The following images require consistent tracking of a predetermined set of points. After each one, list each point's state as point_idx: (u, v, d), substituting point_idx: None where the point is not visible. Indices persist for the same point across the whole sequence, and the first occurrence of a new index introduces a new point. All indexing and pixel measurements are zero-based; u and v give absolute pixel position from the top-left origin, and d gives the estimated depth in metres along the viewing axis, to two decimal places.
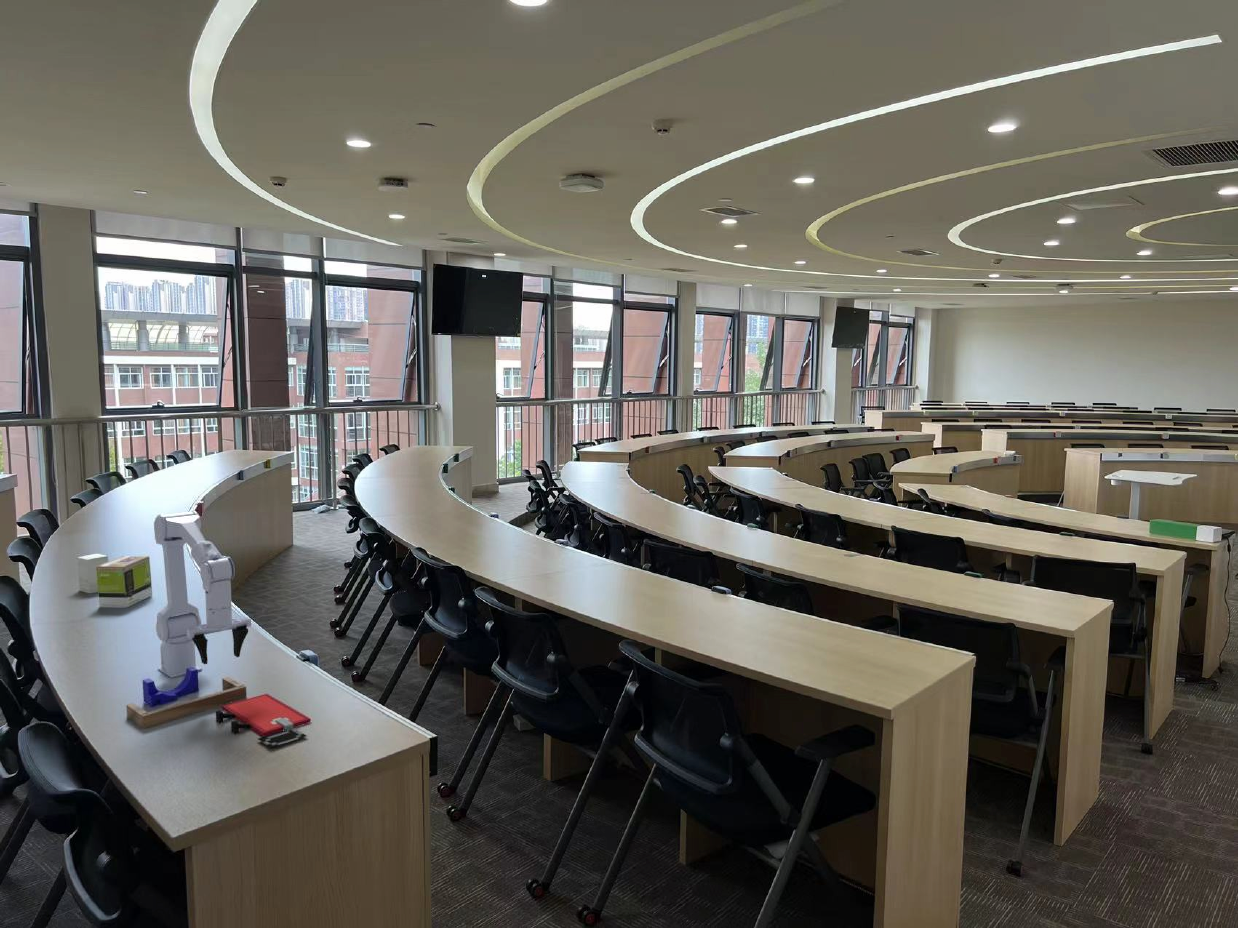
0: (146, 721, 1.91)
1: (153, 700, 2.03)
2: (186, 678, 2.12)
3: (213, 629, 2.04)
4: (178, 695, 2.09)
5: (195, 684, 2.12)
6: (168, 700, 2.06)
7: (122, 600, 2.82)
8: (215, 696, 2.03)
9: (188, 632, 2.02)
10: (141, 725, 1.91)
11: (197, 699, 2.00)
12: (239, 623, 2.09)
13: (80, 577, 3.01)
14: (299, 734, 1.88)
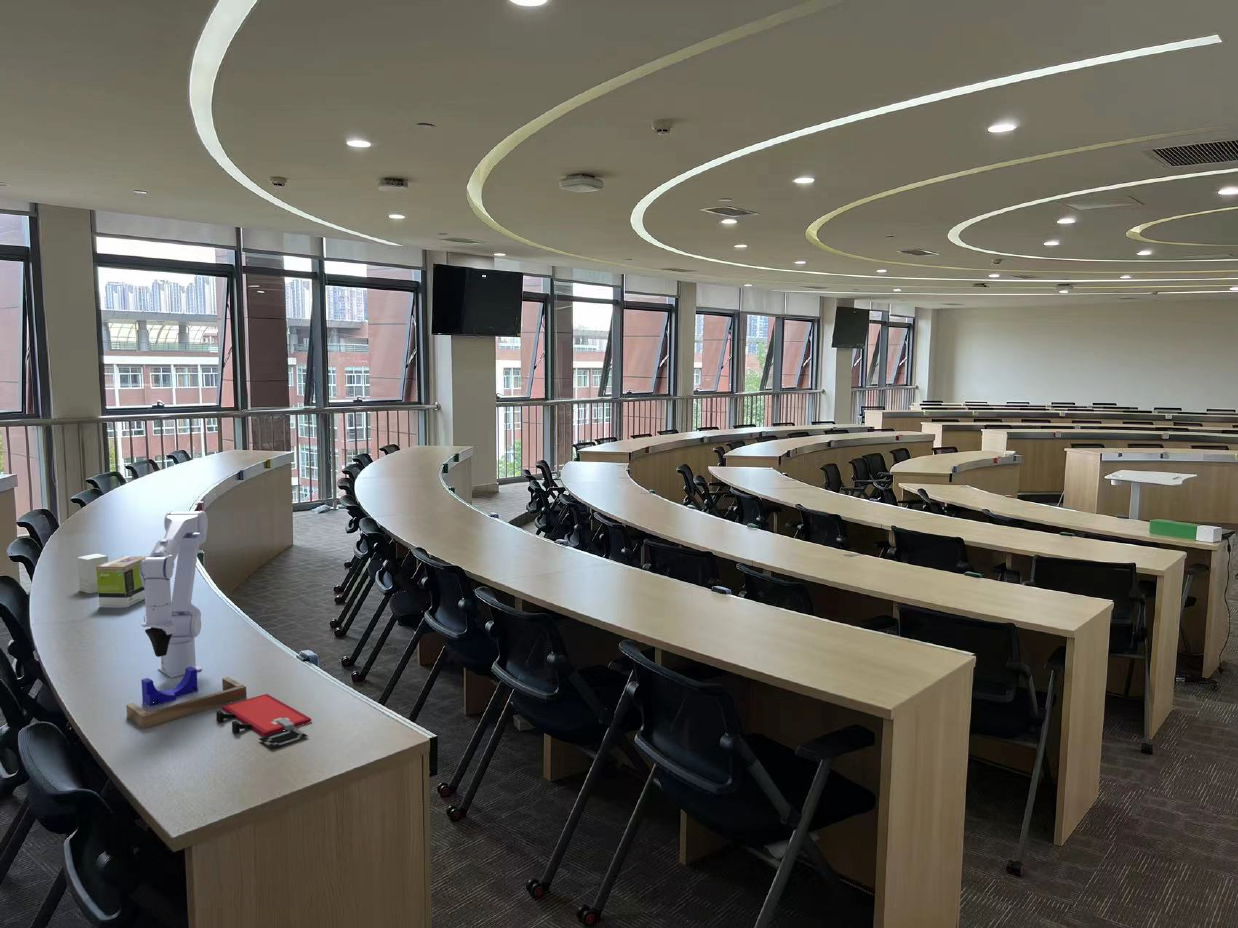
0: (146, 721, 1.91)
1: (152, 700, 2.03)
2: (185, 678, 2.12)
3: (145, 622, 2.10)
4: (177, 695, 2.09)
5: (194, 684, 2.12)
6: (167, 700, 2.06)
7: (122, 600, 2.82)
8: (215, 696, 2.03)
9: None
10: (141, 725, 1.91)
11: (197, 699, 2.00)
12: (158, 626, 2.07)
13: (80, 577, 3.01)
14: (300, 734, 1.88)
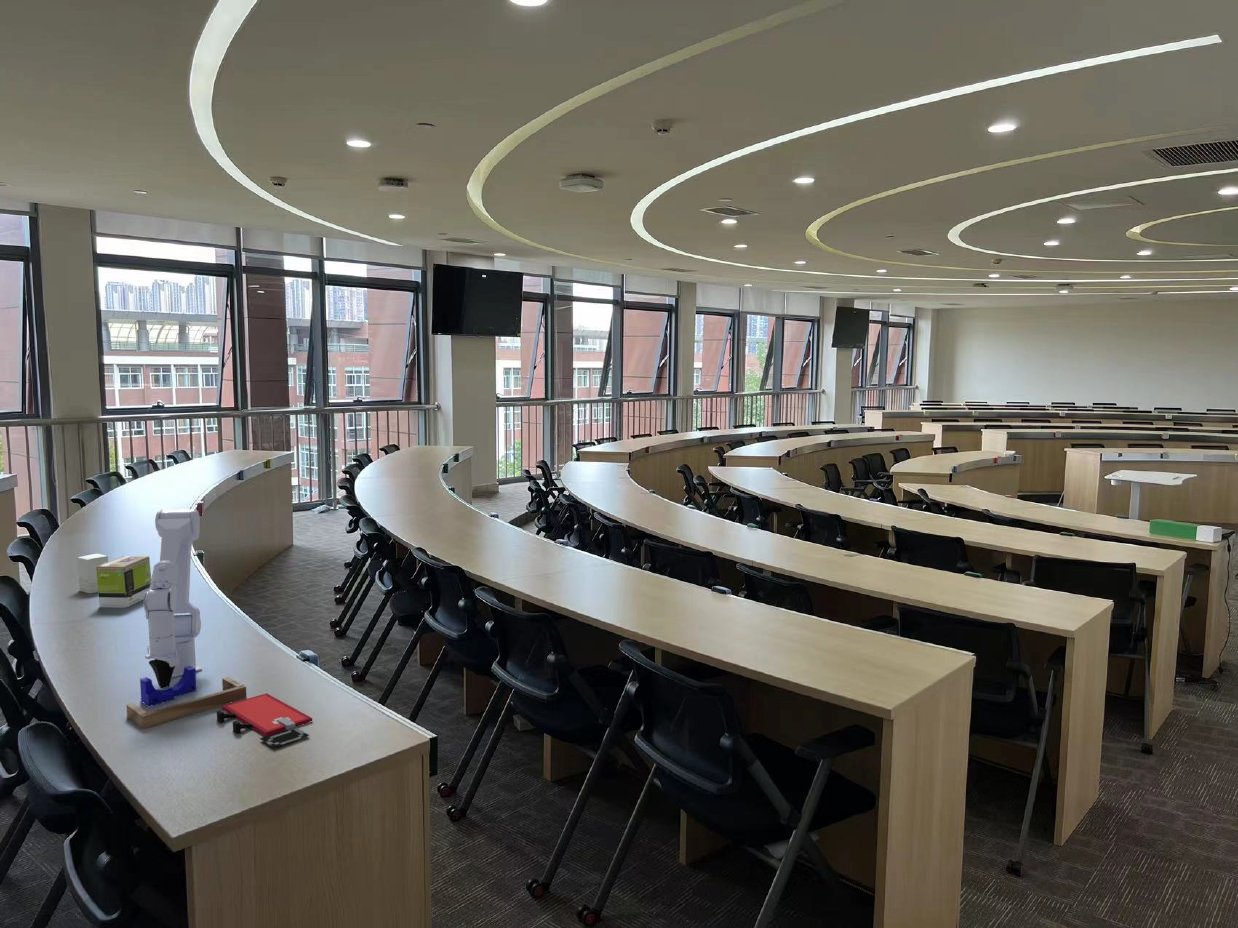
0: (146, 721, 1.91)
1: (150, 699, 2.03)
2: (184, 677, 2.12)
3: (149, 653, 2.10)
4: (175, 694, 2.09)
5: (193, 683, 2.12)
6: (165, 699, 2.06)
7: (122, 600, 2.82)
8: (215, 696, 2.03)
9: None
10: (141, 725, 1.91)
11: (197, 699, 2.00)
12: (162, 658, 2.07)
13: (80, 577, 3.01)
14: (301, 733, 1.88)
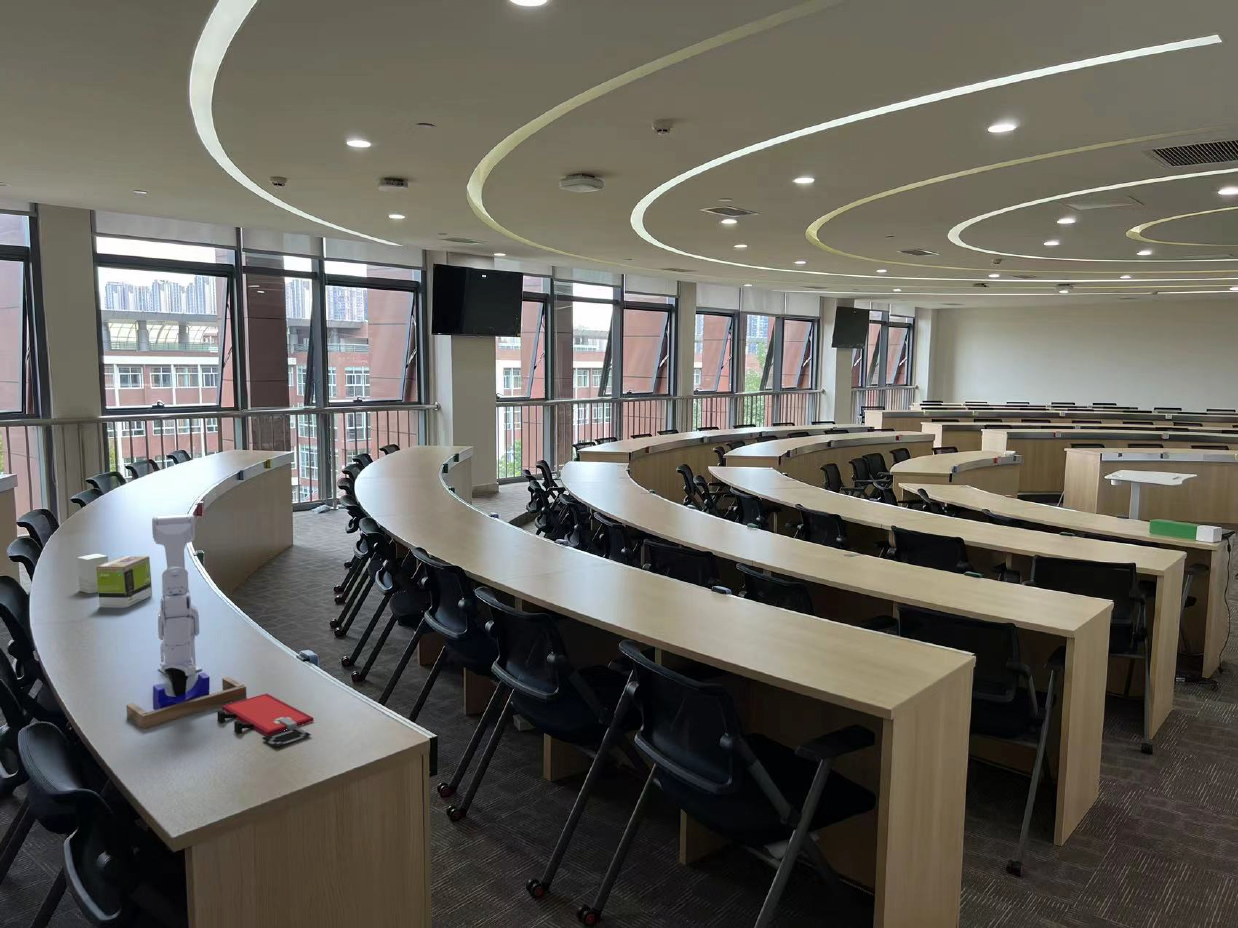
0: (146, 721, 1.91)
1: None
2: (197, 685, 2.07)
3: (164, 661, 2.04)
4: None
5: (206, 691, 2.07)
6: None
7: (122, 600, 2.82)
8: (215, 696, 2.03)
9: None
10: (141, 725, 1.91)
11: (197, 699, 2.00)
12: (178, 667, 2.01)
13: (80, 577, 3.01)
14: (303, 733, 1.88)
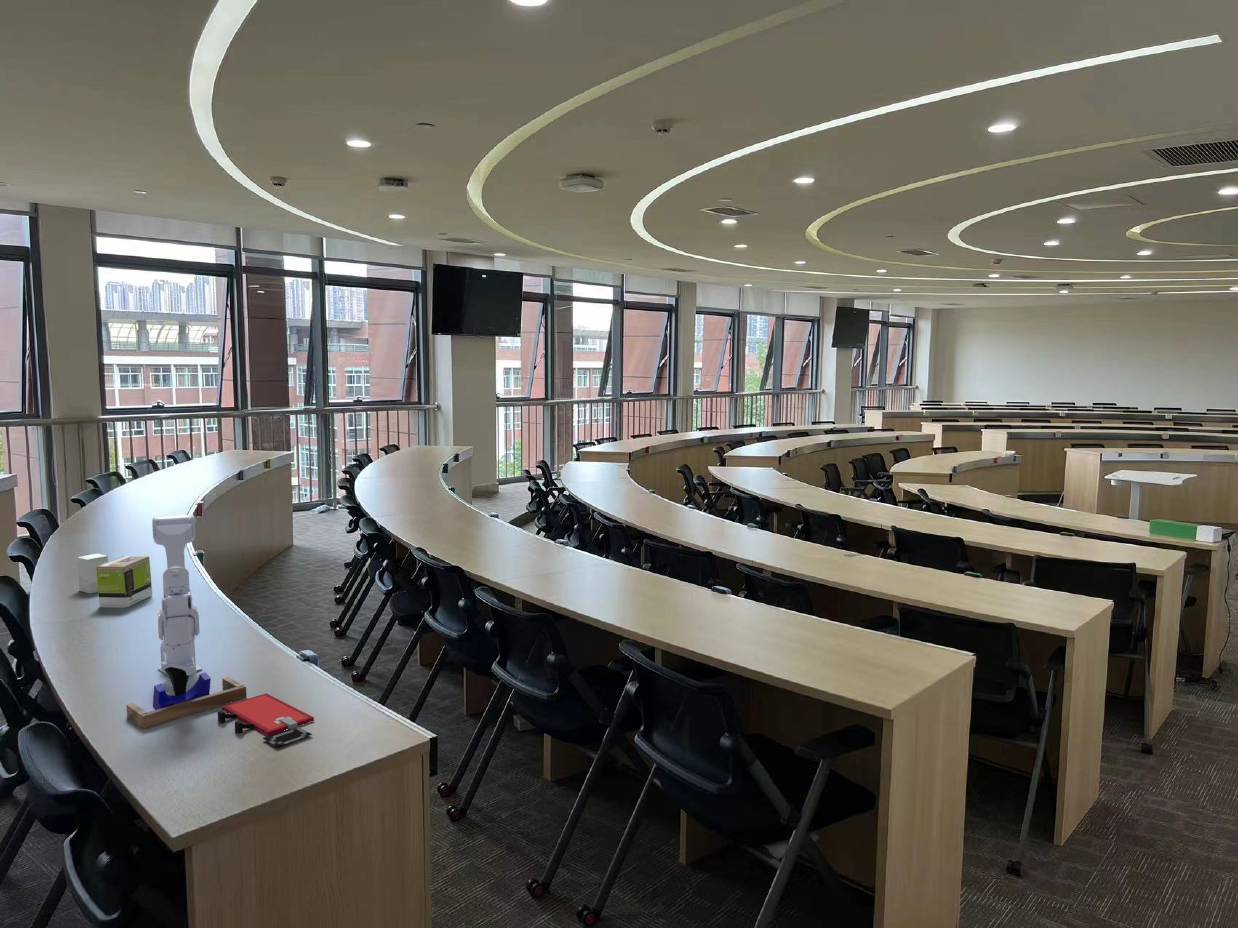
0: (146, 721, 1.91)
1: None
2: (198, 685, 2.06)
3: (165, 660, 2.04)
4: None
5: (206, 692, 2.07)
6: None
7: (122, 600, 2.82)
8: (215, 696, 2.03)
9: None
10: (141, 725, 1.91)
11: (197, 699, 2.00)
12: (179, 667, 2.00)
13: (80, 577, 3.01)
14: (304, 733, 1.89)
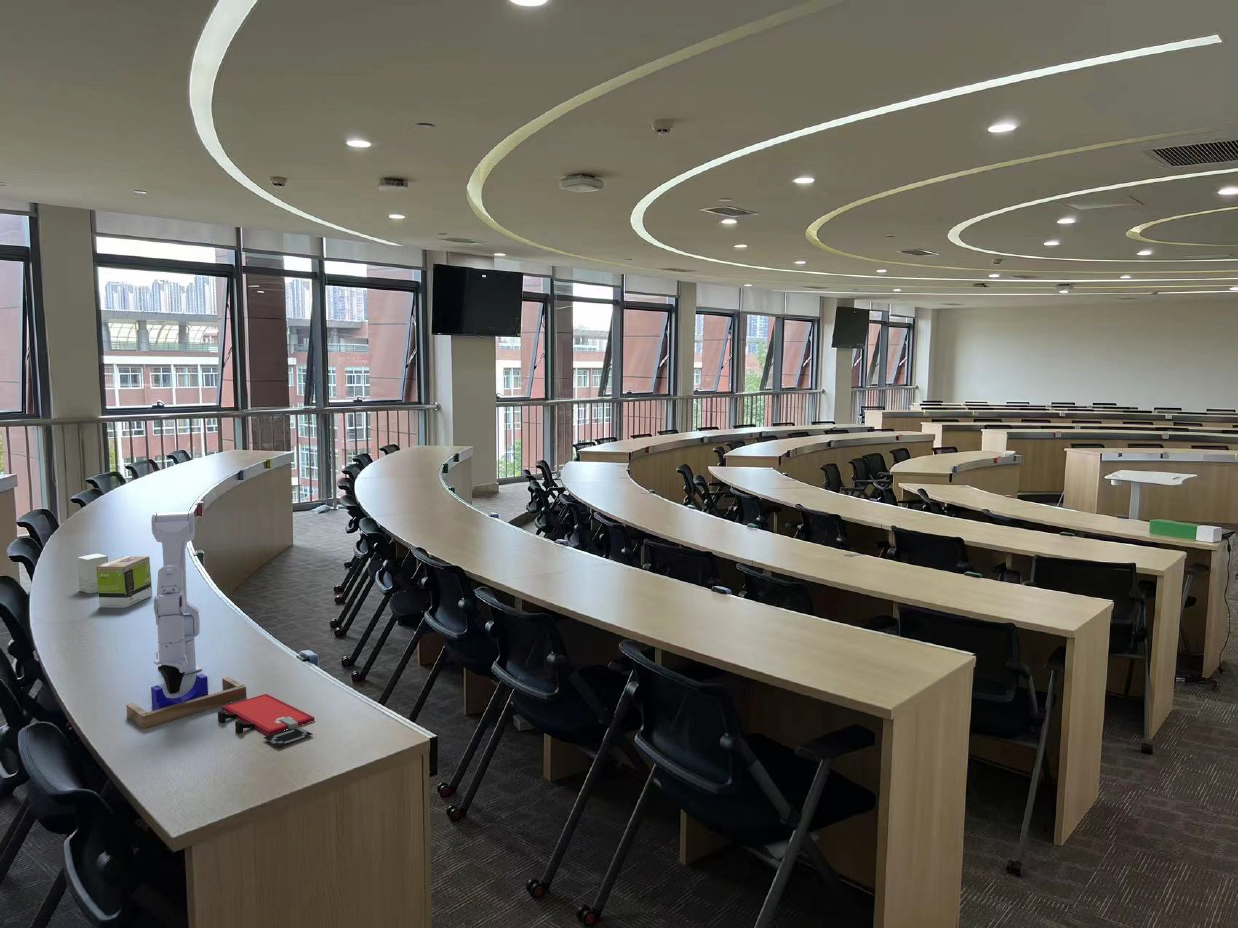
0: (146, 721, 1.91)
1: None
2: (196, 686, 2.07)
3: (158, 659, 2.07)
4: None
5: (204, 691, 2.07)
6: None
7: (122, 600, 2.82)
8: (215, 696, 2.03)
9: None
10: (141, 725, 1.91)
11: (197, 699, 2.00)
12: (172, 664, 2.03)
13: (80, 577, 3.01)
14: (305, 732, 1.89)
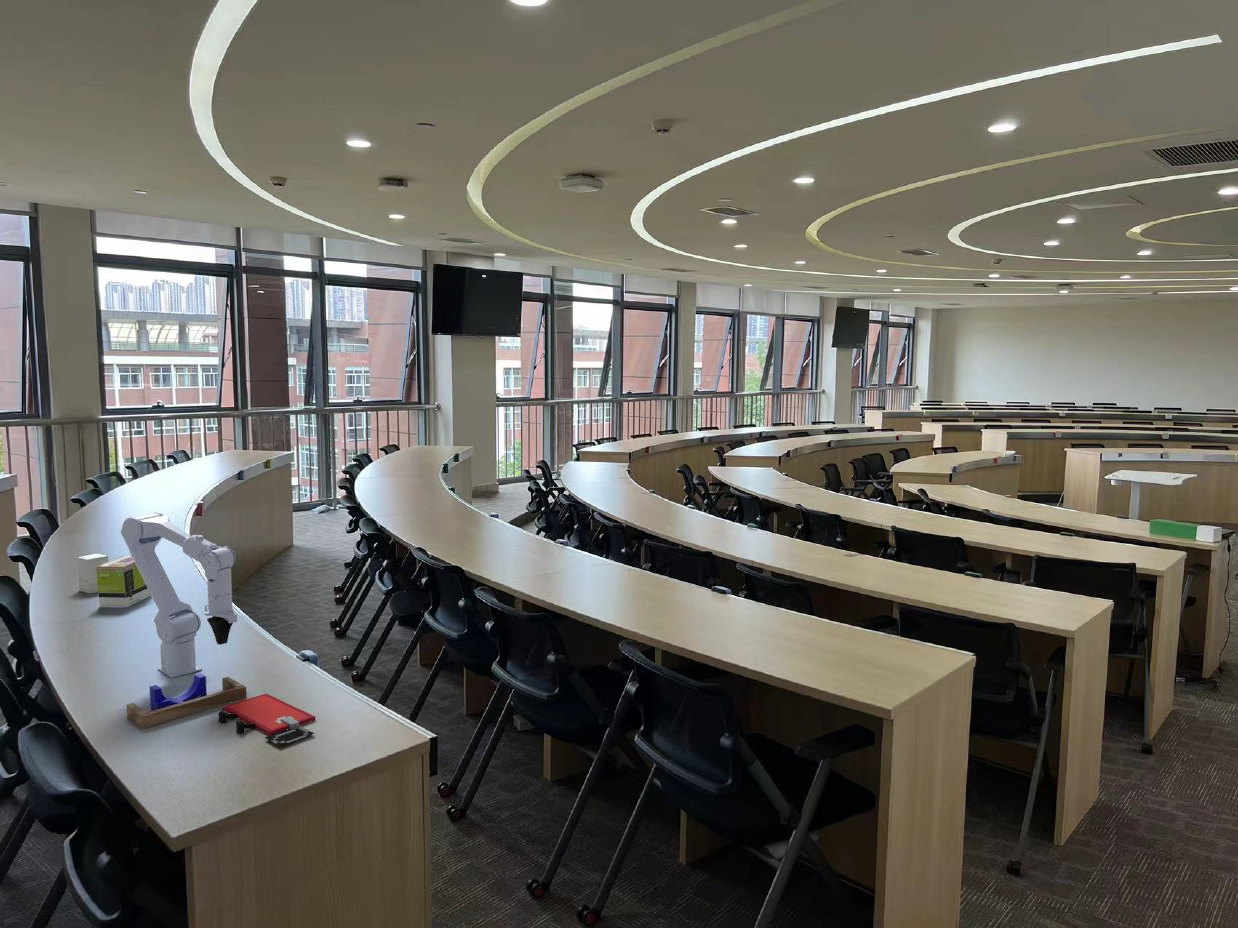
0: (146, 721, 1.91)
1: (160, 707, 1.99)
2: (194, 685, 2.07)
3: None
4: None
5: (203, 691, 2.08)
6: None
7: (122, 600, 2.82)
8: (215, 696, 2.03)
9: None
10: (141, 725, 1.91)
11: (197, 699, 2.00)
12: (221, 615, 2.16)
13: (80, 577, 3.01)
14: (306, 732, 1.89)
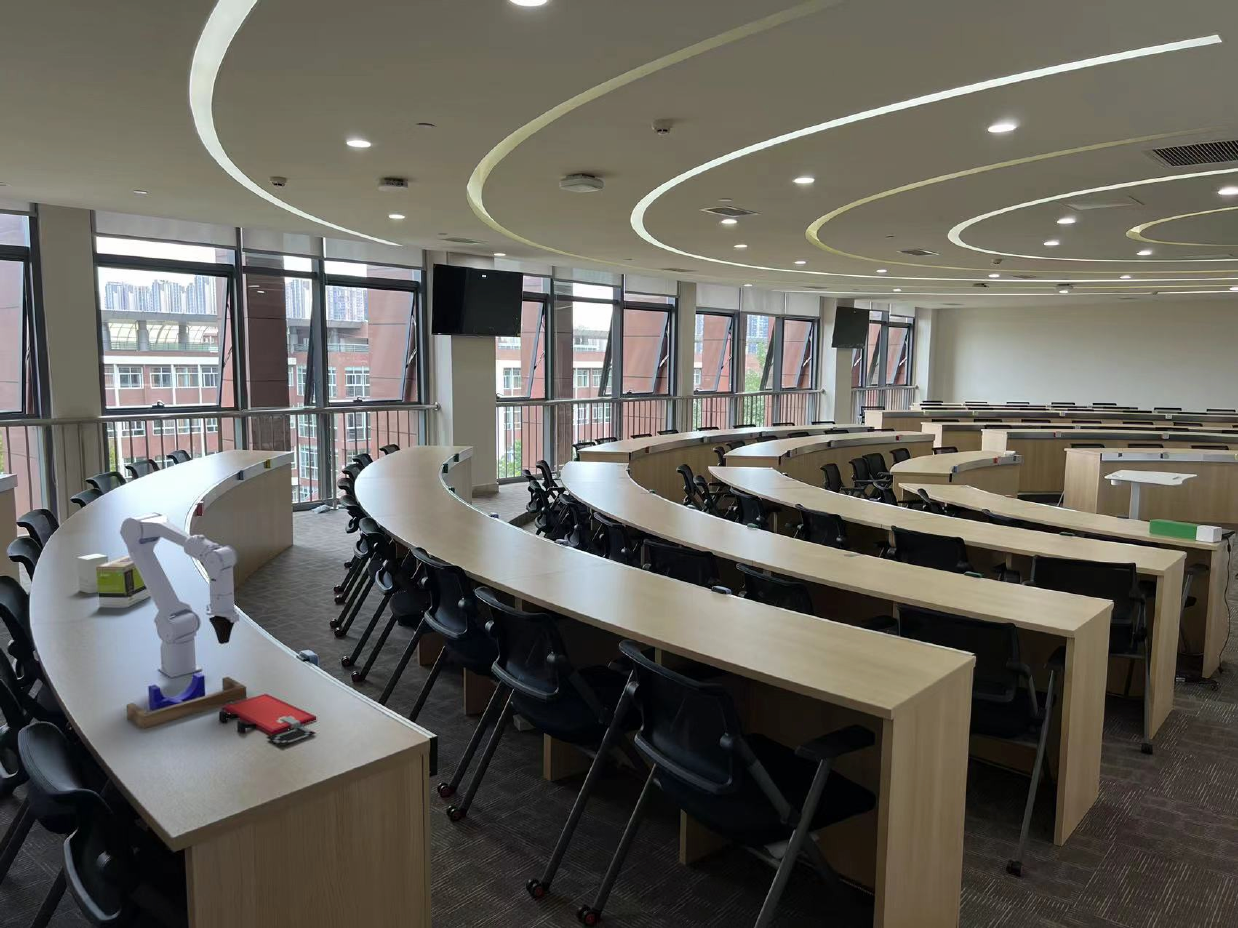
0: (146, 721, 1.91)
1: (159, 707, 1.99)
2: (193, 685, 2.08)
3: (209, 610, 2.20)
4: None
5: (202, 690, 2.08)
6: None
7: (122, 600, 2.82)
8: (215, 696, 2.03)
9: None
10: (141, 725, 1.91)
11: (197, 699, 2.00)
12: (223, 615, 2.17)
13: (80, 577, 3.01)
14: (308, 731, 1.89)
